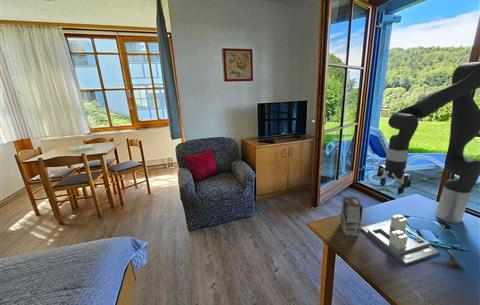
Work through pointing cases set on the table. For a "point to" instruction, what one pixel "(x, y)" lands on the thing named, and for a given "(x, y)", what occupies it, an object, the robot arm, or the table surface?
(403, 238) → the tab
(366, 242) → the table surface
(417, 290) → the table surface
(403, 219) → the tab
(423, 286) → the table surface
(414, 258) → the white slotted board
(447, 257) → the table surface
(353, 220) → the coffee box
